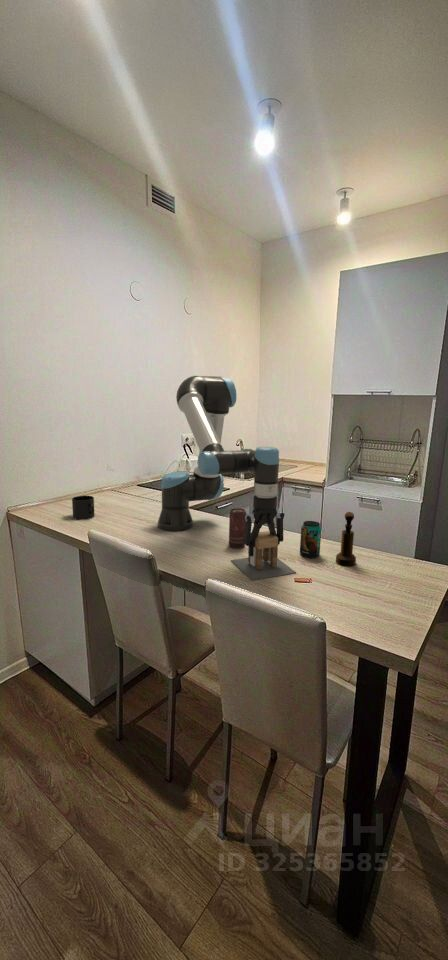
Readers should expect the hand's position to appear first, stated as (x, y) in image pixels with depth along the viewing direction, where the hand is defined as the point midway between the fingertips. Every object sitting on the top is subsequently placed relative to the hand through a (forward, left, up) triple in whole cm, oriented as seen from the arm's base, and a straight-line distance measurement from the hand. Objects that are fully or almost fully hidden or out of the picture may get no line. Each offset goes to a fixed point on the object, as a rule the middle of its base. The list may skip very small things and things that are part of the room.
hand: (262, 563), depth 131 cm
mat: (0, 0, -1) cm, 1 cm away
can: (-21, 0, -2) cm, 21 cm away
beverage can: (-4, +21, -2) cm, 21 cm away
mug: (-77, -52, -2) cm, 93 cm away
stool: (0, 0, 0) cm, 0 cm away
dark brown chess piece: (+6, +29, -2) cm, 30 cm away
